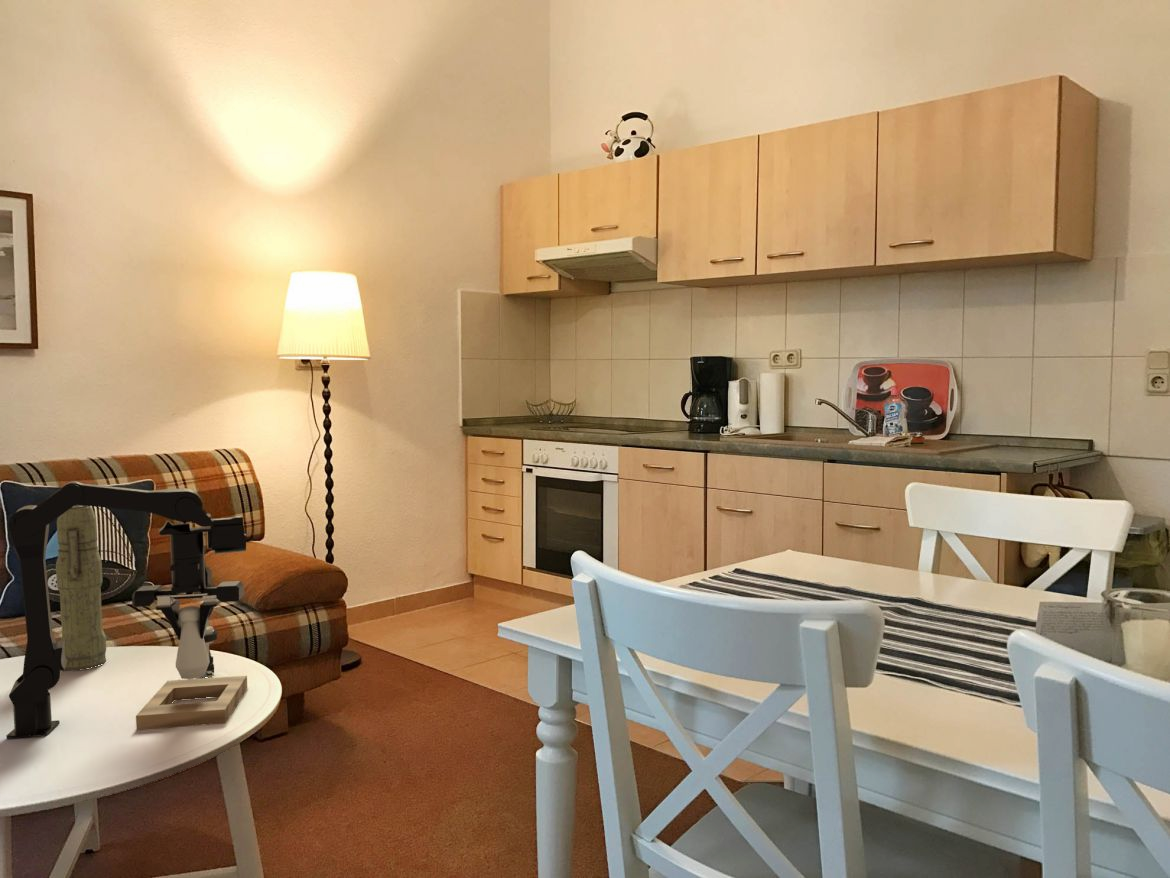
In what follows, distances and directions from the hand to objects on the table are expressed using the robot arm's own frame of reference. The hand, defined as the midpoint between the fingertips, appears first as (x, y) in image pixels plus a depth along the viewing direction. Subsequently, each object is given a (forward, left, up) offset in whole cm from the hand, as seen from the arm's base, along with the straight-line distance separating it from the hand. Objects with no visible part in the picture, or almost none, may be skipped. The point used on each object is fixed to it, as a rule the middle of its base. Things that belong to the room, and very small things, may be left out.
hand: (191, 639), depth 177 cm
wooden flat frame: (0, 0, -13) cm, 13 cm away
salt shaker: (0, 0, -7) cm, 7 cm away
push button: (+20, +2, -13) cm, 24 cm away
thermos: (+35, +31, -13) cm, 49 cm away
